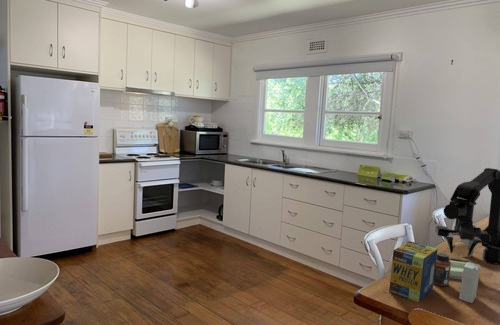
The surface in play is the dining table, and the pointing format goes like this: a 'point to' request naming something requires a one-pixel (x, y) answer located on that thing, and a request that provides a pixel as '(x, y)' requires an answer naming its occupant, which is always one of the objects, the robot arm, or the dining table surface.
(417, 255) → the protein box
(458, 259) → the holder
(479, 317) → the dining table surface
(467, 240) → the energy drink can
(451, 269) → the tray
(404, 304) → the dining table surface
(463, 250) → the ball
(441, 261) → the supplement bottle
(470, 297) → the skincare box
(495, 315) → the dining table surface
